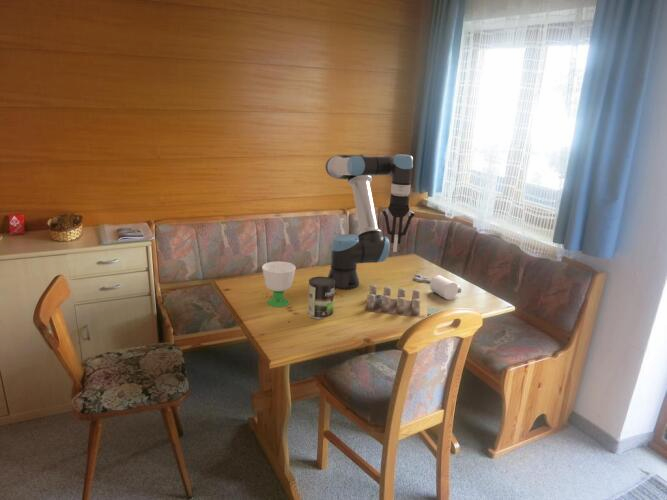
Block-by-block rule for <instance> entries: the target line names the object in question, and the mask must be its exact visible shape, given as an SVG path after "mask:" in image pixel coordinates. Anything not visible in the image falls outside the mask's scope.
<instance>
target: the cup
mask: <svg viewBox="0 0 667 500" xmlns="http://www.w3.org/2000/svg"><path fill="white" fill-rule="evenodd" d="M261 267H262V274H263V278H264V283H265V287H266V288H267V289H268V290H270V291H272V292H273V293H272V297H273V298H271V299H270V298H269V299H268V301H267V304H268V305H269V306H270V307H272V308H284V307H286V306H288V305H289V304H290V301H289V300H288V299H287V298H284V297H285V293H284V292H285V291H288V290H289V289H290V288H291V286H292V285H293V281H294V279H295V278H294V277H295V272H296V269H297V267H296V265H295V264H294V263H292V262H287V261H278V260H277V261H269V262H266V263H264V264H263V265H261Z"/></svg>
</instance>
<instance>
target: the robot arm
mask: <svg viewBox="0 0 667 500" xmlns="http://www.w3.org/2000/svg"><path fill="white" fill-rule="evenodd" d="M413 162H414V157H413V156H412V155H411V154H405V153H404V154H403V153H402V154H401V153H399V154H397V153H396V154H395V155H394V156H393V155H383V156H369V155H365V154H335V155H332V156H330V157H329V158H328V159H327V160H326V162H325V167H324V168H325V172H326V174H327V175H328V176H329V177H331V178H333V179H336V180H347V183H348V185H349V186H350V187H351V188H352V193H353V199H354V204H355V205H354V206H355V210H356V216H357V222H358V227H359V233H358V234H357V235H356V234H354V233H351V234H350V233H345V234H344V233H343V234H339V235H336V236H335V237H334V238H333V239H332V242H331V246H330V247H331V256H330V257H331V258H330V259H331V260H330V270H329V273H327V277H329V278H332V279H334V280H335V291H336V290H341V291H342V290H353V289H356V288H358V287H359V286H360V280H359V275H358V273H357V264H369V263H371V264H372V263H373V264H374V263H375V264H377V263H382V262H385V261H386V260H387V259H388V256H389V254H390V249H391V248H390V247H391V246H390V242H391V244H393V247H392V252H393V253H394V252H395V253H397V252H398V251H397V250H398V245H400V244H401V240H402V237H403V236H406V234H407V232H408V229H409V226H410V223H411V220H412V218H414V216H415V212H414V211H412V210H411V209H410V207H409V206H410V205H409V204H410V194H411V186H412V185H411V184H412V176H413V167H414V164H413ZM375 176H391V184H390V185H391V188H390V196H389V197H390V198H389V199H390V200H389V205H388V208H385V209H383V210H382V215H383V216H384V220H385V224H386V225H385V226H386V232H387V235H390V236H391V238H390V240H389V238H388V237H387V236H384V234H383V231H382V230H381V229H380V228H379V226H378V221H377V214H376V209H375V204H374V199H373V193H372V189H371V188H372V187H371V182H372V181H373V178H374V177H375ZM389 213H390V214H391V216H392V226H391V227H392V229H391V227H390V220H389ZM406 215H408V216H407V220H406V222H405V224H404V227H403V220H404V219H403V218H404V217H405V216H406ZM397 218H399V221H398V222H399V223H398V229H397V230H398V232H397V234H396V224H397ZM402 228H403V229H402Z"/></svg>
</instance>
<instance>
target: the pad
mask: <svg viewBox="0 0 667 500" xmlns="http://www.w3.org/2000/svg"><path fill="white" fill-rule="evenodd" d="M426 310H427V311H426V313H427V317H429V316H428V315H431V314H434V313H436V312H439V311H441V308H440V307H432V306H431V307H430V306H427V307H426ZM441 312H442V311H441Z"/></svg>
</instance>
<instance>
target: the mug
mask: <svg viewBox="0 0 667 500" xmlns="http://www.w3.org/2000/svg"><path fill="white" fill-rule="evenodd" d="M429 289H430V291H431V292H433V293H435V294H436V295H438V296H440V297H441V298H444V300H453V299H454V298H455V297H456V296H457V294H458V292H457V291H458V290H459V289H461V285H460V284H459V283H456V282H454V281H451V280H450V279H448V278H446V277H444V276H442V275H440V274H439V275H435V276H433V277H432V278H431V282H430V283H429Z"/></svg>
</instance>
